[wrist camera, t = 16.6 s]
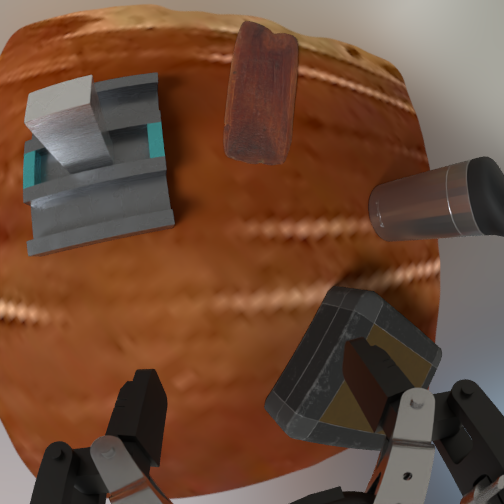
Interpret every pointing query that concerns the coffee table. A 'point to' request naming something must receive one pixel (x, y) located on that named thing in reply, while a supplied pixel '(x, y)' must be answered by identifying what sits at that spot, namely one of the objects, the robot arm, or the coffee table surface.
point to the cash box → (331, 375)
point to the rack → (103, 177)
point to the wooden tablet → (261, 96)
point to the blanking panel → (71, 124)
